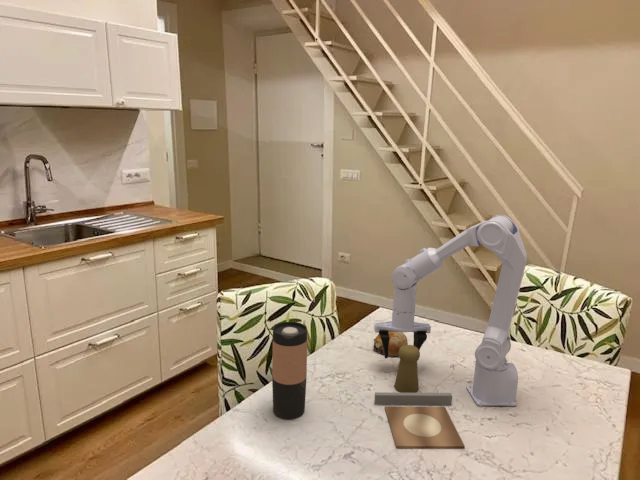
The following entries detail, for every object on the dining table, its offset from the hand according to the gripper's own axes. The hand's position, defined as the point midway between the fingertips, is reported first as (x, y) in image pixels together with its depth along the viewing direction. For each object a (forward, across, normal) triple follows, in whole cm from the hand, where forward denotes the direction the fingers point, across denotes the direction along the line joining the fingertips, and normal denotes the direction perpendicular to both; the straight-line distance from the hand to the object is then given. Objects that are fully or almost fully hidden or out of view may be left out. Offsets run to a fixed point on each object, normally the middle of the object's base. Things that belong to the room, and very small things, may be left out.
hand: (400, 356), depth 126 cm
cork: (+4, 0, +9) cm, 10 cm away
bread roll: (+4, 0, -12) cm, 13 cm away
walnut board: (+4, 0, +25) cm, 25 cm away
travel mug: (+4, +29, +19) cm, 35 cm away
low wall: (+4, 0, +16) cm, 16 cm away
